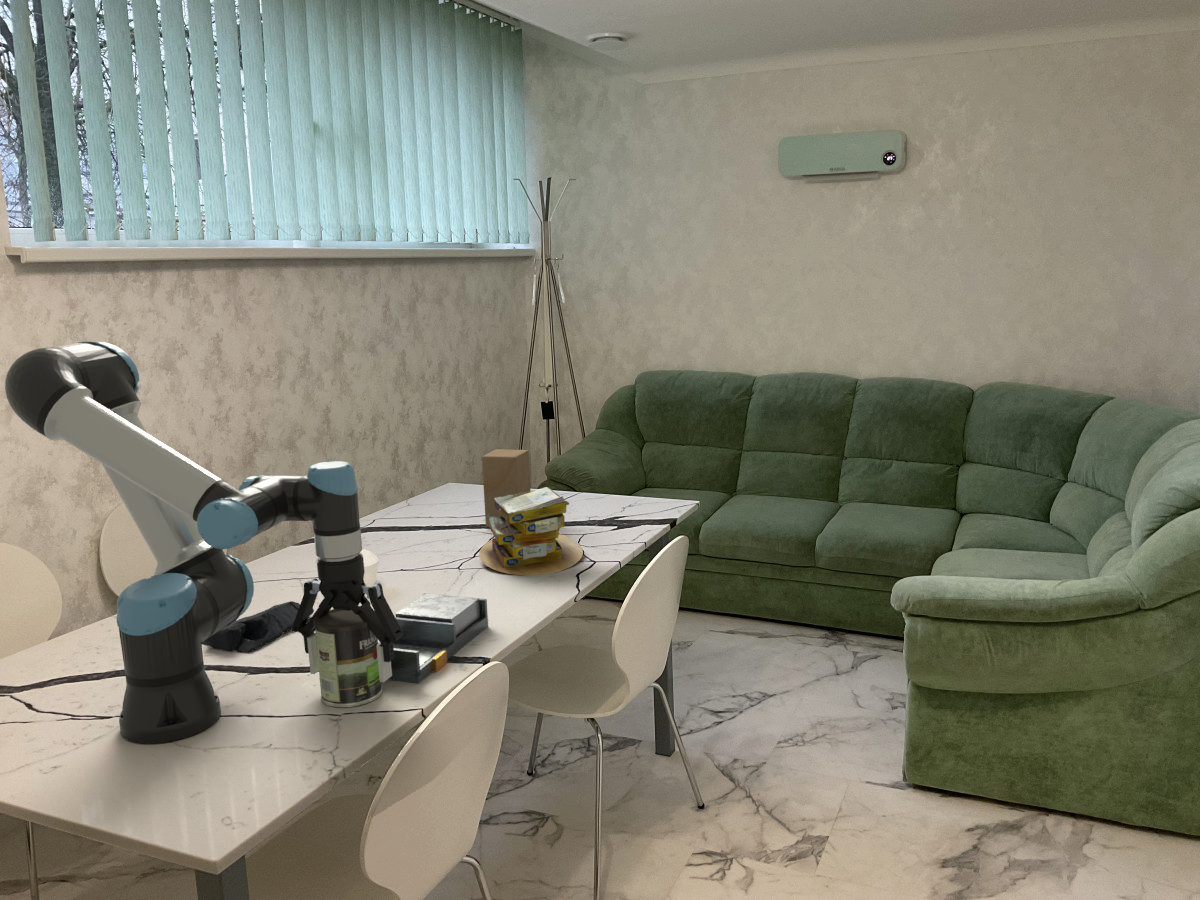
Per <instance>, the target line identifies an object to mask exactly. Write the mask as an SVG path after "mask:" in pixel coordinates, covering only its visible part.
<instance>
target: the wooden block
mask: <svg viewBox="0 0 1200 900" xmlns="http://www.w3.org/2000/svg"><path fill="white" fill-rule="evenodd" d="M529 453H530V452H529V450H528V449H508V448H507V449H503V448H502V449H501V448H498V449H497V448H496V449H493V450H492V451H490V452H488V453H485V455H484V454H483V455H482V456H481V465H482V481H483V482H482V483H483V485H482V486H483V496H484V497H483V498H484V500H483V501H484V502H483V503H484V516H485V517H484V520H485V527H486V528H488V529H490V524H489V515H488V514H490V515H494V516H495V515H499V516H502V515H501V514H499V512H498V511H496V510H495V506H494V499H495V498H498V497H504V496H508V495H515V494H519V492H520V493H523V492H524V493H525V494H527V493H526V492H528V493H530V492H532V490H531V475H530V474H531V473H530V472H531V471H530V454H529ZM529 491H530V492H529ZM515 496H516V495H515Z"/></svg>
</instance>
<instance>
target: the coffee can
mask: <svg viewBox="0 0 1200 900" xmlns="http://www.w3.org/2000/svg"><path fill="white" fill-rule="evenodd" d="M313 622H314V626H315V631H314V633H316V645H317V655H318V666H319V671H318V674H319V683H320V684H319V686H320V694H321V696H320V700H321V702H322V703H323V704H324V705H327V706H328V707H334V708H353V707H358V706H359V707H360V706H362V705H366V704H369V703H371V702H373V701H375V700H377V699H378V698H379V697H380V696H381V695H382V693H383V688H382V682H380V679H379V668H378V657H377V646H376V645H377V644H378V643H379V640H378V639H377V638H376V636H375V635H374V634H373V633H372V631H371V630H370V629H369V628H368V626H367V622H363V620H362V619H361V618H360V617H359V615H357V614H355V613H354V612H353V611H352V610H350V611H346V610H343V609H338V610H335V609H333V608H332V609H330V611H329V612H328V613H327V614H325V615H324V616H322V617H315V618H314V621H313Z"/></svg>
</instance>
